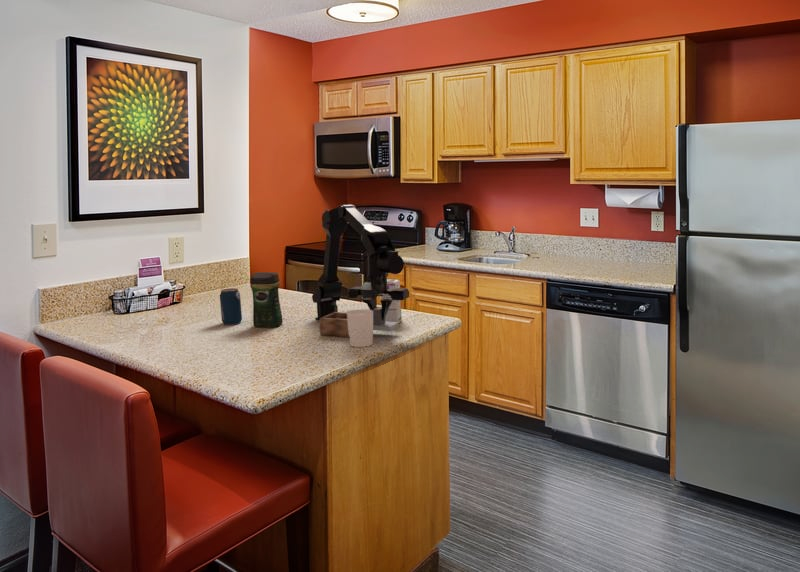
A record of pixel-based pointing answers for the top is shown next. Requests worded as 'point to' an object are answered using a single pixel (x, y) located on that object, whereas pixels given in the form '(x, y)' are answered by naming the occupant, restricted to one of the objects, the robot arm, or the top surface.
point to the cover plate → (386, 326)
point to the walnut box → (334, 325)
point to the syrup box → (393, 303)
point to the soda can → (230, 306)
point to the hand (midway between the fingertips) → (379, 320)
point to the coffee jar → (266, 299)
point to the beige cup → (360, 327)
